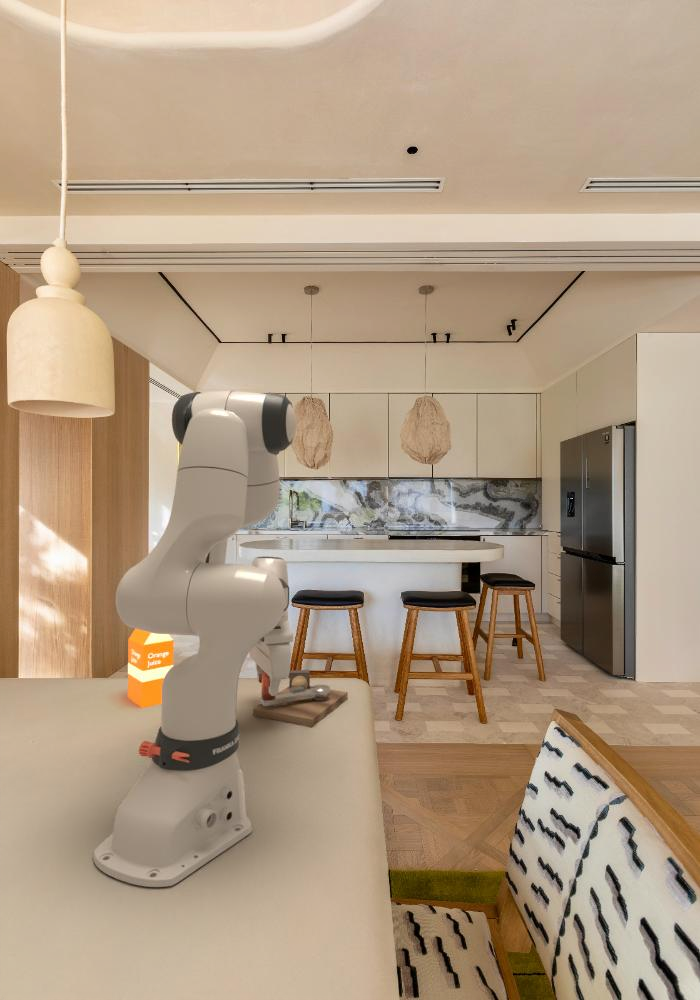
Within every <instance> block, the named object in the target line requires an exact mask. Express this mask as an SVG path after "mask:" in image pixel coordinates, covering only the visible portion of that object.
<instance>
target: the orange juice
mask: <svg viewBox="0 0 700 1000" xmlns="http://www.w3.org/2000/svg"><path fill="white" fill-rule="evenodd" d="M174 641H175V640H174V639H173V638H172V636H171V634H154V633H150V632H146V631H142V630H139V629H135V628H134V630H133V632H132V633H131V635H130V637H128V646H127V647H128V649H127V650H128V653H127V655H128V656H127V657H128V658H127V660H128V661H127V698H128V697H129V698H130V699H131V700H132V701H131V700H130V699H129V698H128V699H129V700H130V701H131V702H133V701H134V702H135V703H134V702H133V703H134V704H136V705H137V704H138V705H139V706H138V705H137V706H138V707H140V708H141V709H144V708H148V707H151V706H156V705H159V704H161V705H162V683H163V680H164V677H165V675H166V674H167V672H168V671H169V670H170V669H171V668H172V667H173V666H174Z"/></svg>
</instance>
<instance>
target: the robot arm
mask: <svg viewBox="0 0 700 1000" xmlns="http://www.w3.org/2000/svg"><path fill="white" fill-rule="evenodd" d="M295 412H296V411H295V409H294V406H293V404H292V402H291V400H289V399H288V397H287V396H286V395H284V394H279V393H275V392H267V393H260V392H253V391H252V392H250V391H235V390H233V389H232V390H217V391H216V390H215V391H209V392H208V391H206V392H201V391H195V392H194V391H193V392H189V393H186V394H184V395H183V394H182V395H181V396H180V398H179V399H178V400H177V401H176V402H175V403H174V405H173V410H172V414H171V425H172V431H173V435H174V437H175V439H176V440H177V442H178V443H180V445H181V448H180V453H179V457H178V464H177V472H176V479H175V480H176V481H175V489H174V494H173V495H174V496H173V500H172V507H171V512H170V516H169V520H168V523H167V525H166V527H165V530H164V532H163V534H162V536H161V537H160V539H159V540H158V542H157V543H156V544H155V546H154V547H153V549H152V550H151V552H149V553H148V554H147V555H146V556H145V557H144V558H143V559H142V560H140V561H139V562H138V563H137V564H135V565H134V566H131V568H129V569H128V570H127V571H126V572H125V573H124V575H123V576H122V577H121V579H120V581H119V583H118V585H117V589H116V592H115V608H116V610H117V614H118V616H119V618H120V620H121V621H122V623H123V624H124V625H125V626H127V627H129V628H131V629H134V630H135V629H139V630H142V631H146V632H150V633H154V634H169V635H174V636H175V635H176V636H178V635H179V636H195V637H198V640H199V646H198V650H197V653H195V654H192V655H191V656H188V657H186V658H184V659H182V660H180V661H179V662H177V663H176V664H173V667H172V668H171V669H170V670H169V671H168V672H167V674H166V675H165V677H164V680H163V683H162V703H161V715H160V721H161V722H160V727H159V729H158V731H157V735H156V736H155V737H156V738H155V741H154V742H151V741H148V740H143V741H142V742H141V743H140V745H139V747H138V755H140V756H141V757H148V758H149V759H151V761H150V762H149V763H148V765H147V766H146V767H145V769H144V770H143V772H142V774H141V775H140V776H139V778H138V779H137V781H136V782H135V783H134V785H132V788H131V789H130V791H129V792H128V793H127V795H126V796H125V797H124V799H123V800H122V802H121V803H120V804H119V806H118V807H117V810H116V813H115V816H114V821H113V828H112V829H113V830H112V833H111V834H110V835H108V836H107V837H106V838H105V839H104V840H103V841H102V842H101V843H100V844H99V845H98V846H96V848H95V849H94V850H93V855H92V859H93V863H94V864H95V866H96V867H97V868H98V869H99V870H100V871H101V872H103V873H104V874H106V875H107V876H110V877H112V878H115V879H116V880H119V881H122V882H125V883H128V884H131V885H136V886H139V887H141V886H142V887H148V888H149V887H150V888H162V887H163V888H164V887H172V886H174V885H175V884H177V883H179V882H180V881H182V880H183V879H185V878H186V877H187V876H189V875H191V874H192V873H194V872H195V871H196V870H199V868H201V867H203V866H205V864H207V863H209V862H210V861H212V860H213V859H214V858H216V857H218V856H219V855H221V854H222V853H224V852H225V851H227V849H230V848H231V847H232V846H234V845H235V844H236V843H239V842H240V841H241V840H242V839H244V838H245V837H247V836H248V835H250V834H251V833H252V831H253V828H252V822H251V820H250V818H249V816H248V815H247V806H246V797H245V796H246V795H245V794H246V793H245V784H244V783H245V782H244V773H243V769H242V768H241V767H242V766H241V764H240V761H239V758H238V752H237V751H238V749H239V746H240V736H241V735H240V729H239V728H240V727H239V721H238V719H237V703H238V702H237V700H238V689H239V679H240V674H241V670H242V667H243V664H244V663H245V660H246V658H247V656H248V654H249V657H250V659H251V660H253V662H254V663H255V669H256V670H255V671H256V680H257V682H258V683H259V684H262V671H264V672H265V673H266V674H267V675H268V676H269V677H270V680H271V681H270V686H269V694H270V695H271V696H276V695H278V693H279V687H280V684H281V681H282V680H286V679H288V678H289V676H290V670H291V660H292V659H291V658H292V649H291V648H292V647H291V646H292V645H291V643H293V642H294V632H293V631H292V629H291V627H290V623H289V622H290V621H289V610H288V608H289V606H290V587H289V575H288V566H287V562H286V560H285V559H283V558H282V557H279V556H278V557H277V556H276V557H275V556H256V557H254V558H253V559H252V563H251V565H250V564H245V563H226V557H227V556H226V555H227V546H228V539H229V538H231V537H232V536H234V535H236V534H237V533H238V532H239V531H240V530H241V529H245V528H247V527H250V526H252V525H255V524H257V523H259V522H261V521H263V520H265V519H267V517H269V516H270V515H272V514H273V512H274V511H275V509H276V508H277V507H278V504H279V502H280V488H281V486H280V485H281V484H280V469H279V461H278V460H279V459H278V455H279V454H280V452H283V451H285V450H287V448H288V447H290V446H291V444H292V443H293V441H294V438H295V434H296V430H297V417H296V413H295Z"/></svg>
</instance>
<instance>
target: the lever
mask: <svg viewBox="0 0 700 1000" xmlns="http://www.w3.org/2000/svg"><path fill="white" fill-rule="evenodd" d="M270 681H271V680H270V677H269V676H268V675H267V674H266V673H265V672H264V671H262V683H261V697H260V698H259V699H260V700H259V701H260V702H259V704H262V705H263V706H268V705H274V704H280V703H286V702H292V701H297V700H303V699H309V698H315V697H316V698H325V697H328V696H329V695H330V689H331V688H330V686H329V685H326V684H316V685H313V686H312V685H311V686H312V687H311V689H309V690H305V688H304V687H302V686H298V687H292V688H290V693H285V694H278V695H276V696H271V695H270V694H269V686H270Z"/></svg>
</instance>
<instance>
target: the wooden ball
mask: <svg viewBox="0 0 700 1000" xmlns="http://www.w3.org/2000/svg"><path fill="white" fill-rule="evenodd" d="M291 686H292V687H298V686H302V687H304V688H305V690H306V688H307V686H308V682H307V680H306V678H305V677H303V676H296V677H295V678H294V679H293V680H292V683H291Z"/></svg>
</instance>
